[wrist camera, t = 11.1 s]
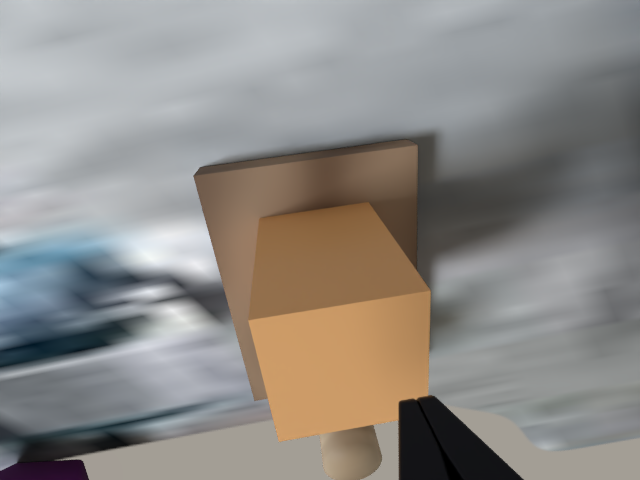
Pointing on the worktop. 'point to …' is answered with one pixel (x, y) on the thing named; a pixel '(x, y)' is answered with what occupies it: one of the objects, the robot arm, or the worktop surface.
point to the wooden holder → (299, 196)
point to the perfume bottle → (46, 471)
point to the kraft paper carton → (337, 321)
